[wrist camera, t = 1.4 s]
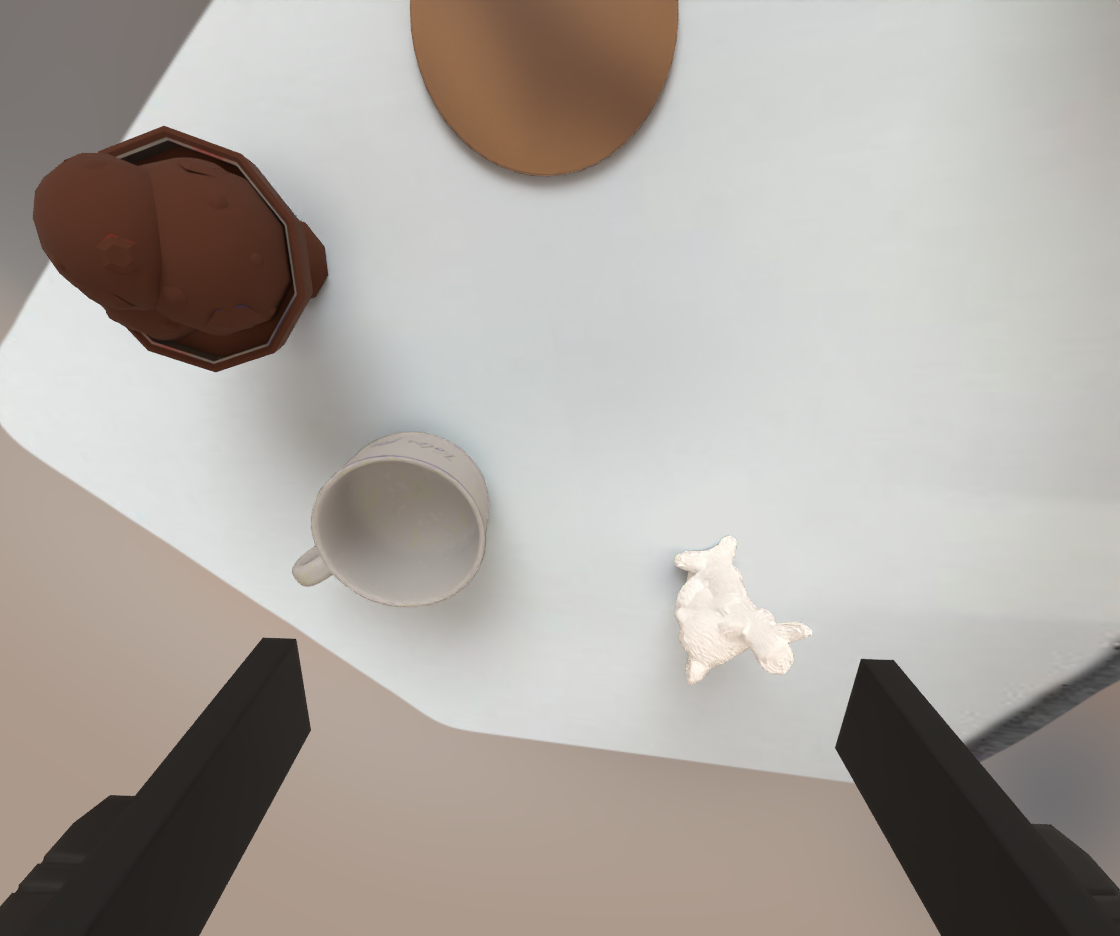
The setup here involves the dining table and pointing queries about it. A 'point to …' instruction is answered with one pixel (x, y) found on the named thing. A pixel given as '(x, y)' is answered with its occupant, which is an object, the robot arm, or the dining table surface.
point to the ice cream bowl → (181, 246)
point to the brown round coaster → (544, 75)
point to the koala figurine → (727, 616)
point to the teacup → (400, 522)
